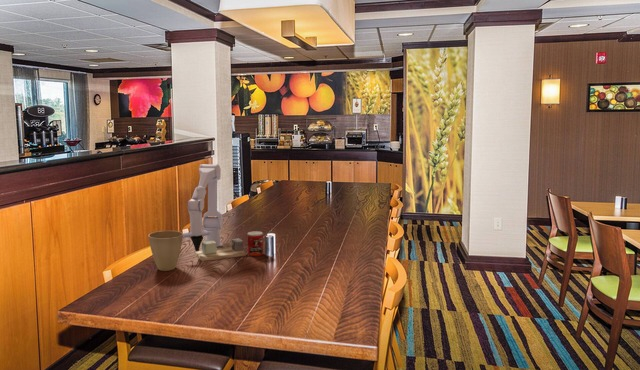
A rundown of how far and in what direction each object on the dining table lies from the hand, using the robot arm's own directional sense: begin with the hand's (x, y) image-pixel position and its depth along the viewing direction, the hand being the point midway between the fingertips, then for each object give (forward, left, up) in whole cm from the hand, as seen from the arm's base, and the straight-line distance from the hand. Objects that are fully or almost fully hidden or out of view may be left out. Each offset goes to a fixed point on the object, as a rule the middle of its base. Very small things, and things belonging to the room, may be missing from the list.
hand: (197, 251), depth 242 cm
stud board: (0, +11, -3) cm, 12 cm away
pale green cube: (0, +6, -1) cm, 6 cm away
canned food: (+7, +27, -4) cm, 29 cm away
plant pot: (+11, -17, -4) cm, 20 cm away
